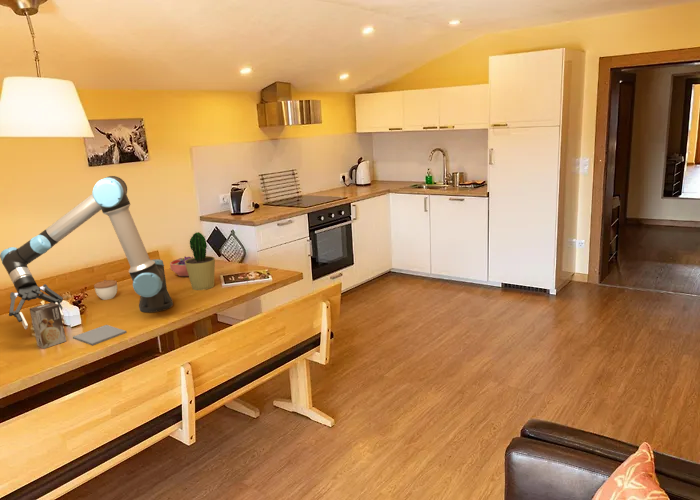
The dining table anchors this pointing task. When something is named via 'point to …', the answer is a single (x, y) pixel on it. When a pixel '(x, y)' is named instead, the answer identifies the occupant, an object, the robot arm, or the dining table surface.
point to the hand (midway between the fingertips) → (44, 322)
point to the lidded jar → (106, 289)
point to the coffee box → (48, 325)
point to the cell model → (179, 266)
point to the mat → (99, 334)
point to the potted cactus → (200, 264)
